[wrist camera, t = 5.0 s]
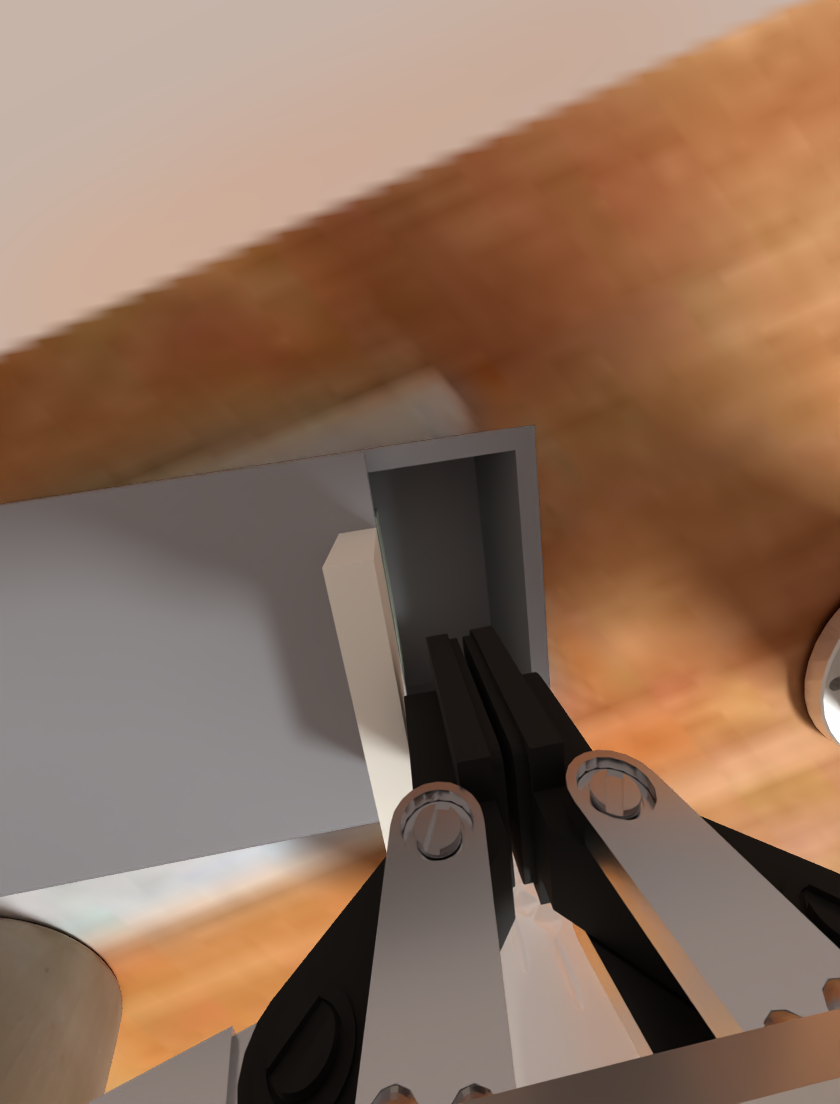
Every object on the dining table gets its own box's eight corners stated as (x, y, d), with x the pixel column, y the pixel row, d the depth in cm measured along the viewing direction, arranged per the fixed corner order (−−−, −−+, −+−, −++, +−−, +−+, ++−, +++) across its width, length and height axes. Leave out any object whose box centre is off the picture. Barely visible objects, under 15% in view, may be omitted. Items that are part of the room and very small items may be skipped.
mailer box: (482, 431, 17) (534, 424, 11) (505, 672, 20) (554, 764, 14) (-1, 504, 16) (-222, 538, 10) (108, 744, 19) (-11, 874, 13)
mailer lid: (363, 451, 10) (353, 453, 7) (425, 797, 14) (439, 915, 10) (-452, 573, 9) (-933, 648, 6) (-173, 914, 13) (-378, 1087, 9)
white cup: (433, 832, 23) (470, 1120, 13) (564, 801, 23) (695, 1061, 13) (454, 923, 25) (499, 1227, 15) (573, 894, 25) (691, 1175, 15)
